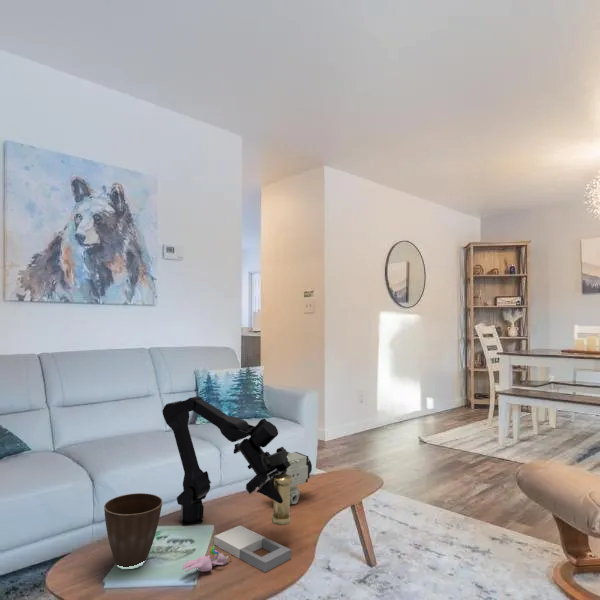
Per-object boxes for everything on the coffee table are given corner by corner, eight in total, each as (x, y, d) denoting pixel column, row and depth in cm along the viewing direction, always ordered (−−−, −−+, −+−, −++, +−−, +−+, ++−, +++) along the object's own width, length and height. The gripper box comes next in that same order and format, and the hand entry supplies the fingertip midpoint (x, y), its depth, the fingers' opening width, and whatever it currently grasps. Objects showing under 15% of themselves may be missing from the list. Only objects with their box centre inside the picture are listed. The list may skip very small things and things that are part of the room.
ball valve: (275, 511, 164) (277, 459, 165) (261, 503, 171) (262, 454, 171) (313, 499, 176) (315, 451, 176) (299, 492, 182) (300, 446, 183)
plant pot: (121, 546, 136) (123, 490, 137) (169, 552, 134) (171, 495, 134) (89, 574, 122) (92, 511, 122) (143, 581, 119) (145, 517, 120)
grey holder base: (213, 544, 139) (214, 535, 139) (239, 533, 147) (239, 525, 147) (265, 572, 125) (265, 562, 125) (290, 558, 133) (290, 549, 133)
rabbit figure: (220, 561, 133) (175, 572, 122) (223, 538, 134) (179, 548, 123) (234, 569, 129) (189, 582, 118) (238, 546, 130) (194, 556, 119)
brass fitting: (274, 526, 137) (276, 481, 138) (269, 518, 143) (271, 474, 143) (293, 523, 139) (294, 479, 140) (286, 516, 145) (288, 473, 145)
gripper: (256, 447, 135) (289, 494, 130) (286, 433, 152) (316, 474, 147) (232, 470, 138) (263, 517, 133) (264, 454, 155) (293, 495, 150)
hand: (285, 499), depth 141 cm, fingers closed on brass fitting, 5 cm apart
